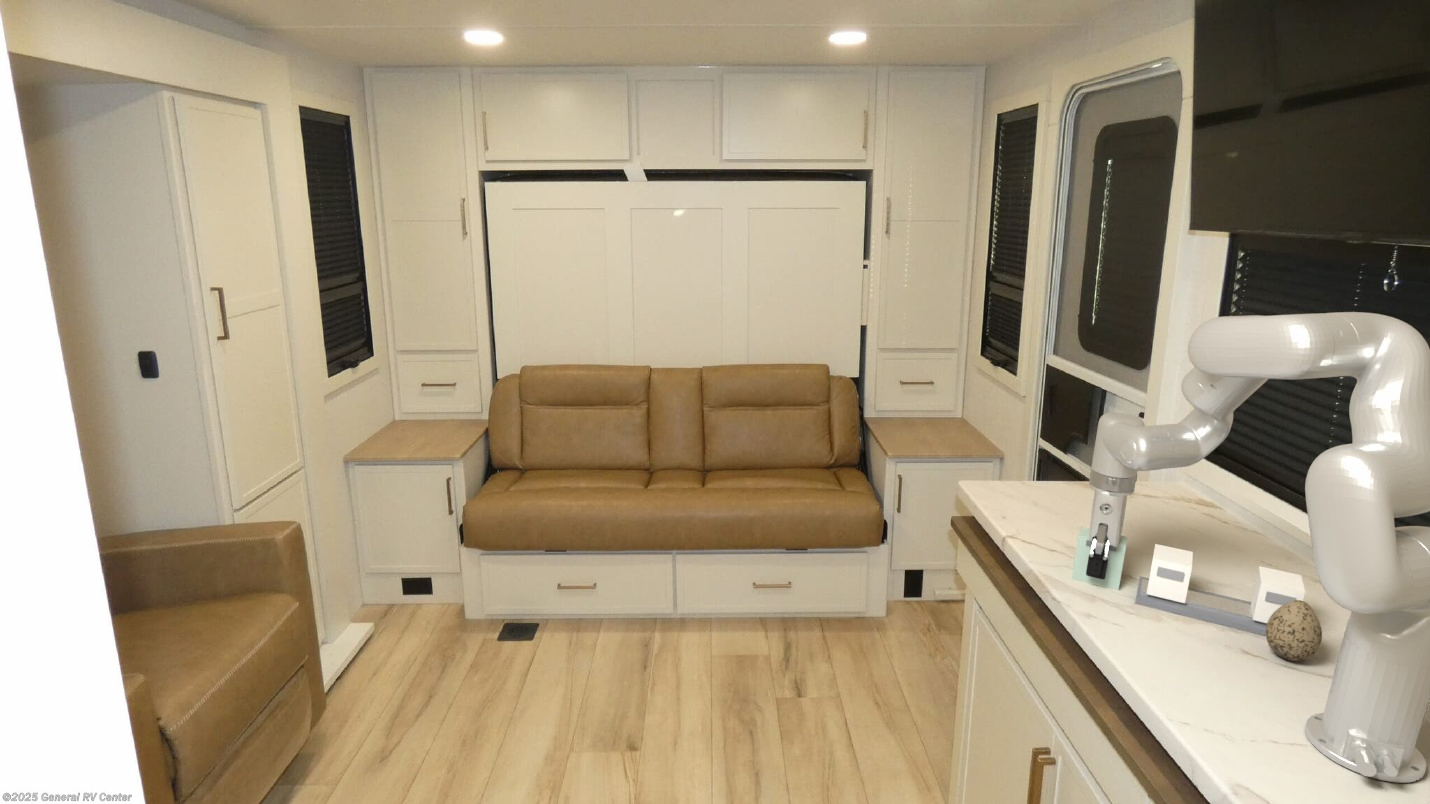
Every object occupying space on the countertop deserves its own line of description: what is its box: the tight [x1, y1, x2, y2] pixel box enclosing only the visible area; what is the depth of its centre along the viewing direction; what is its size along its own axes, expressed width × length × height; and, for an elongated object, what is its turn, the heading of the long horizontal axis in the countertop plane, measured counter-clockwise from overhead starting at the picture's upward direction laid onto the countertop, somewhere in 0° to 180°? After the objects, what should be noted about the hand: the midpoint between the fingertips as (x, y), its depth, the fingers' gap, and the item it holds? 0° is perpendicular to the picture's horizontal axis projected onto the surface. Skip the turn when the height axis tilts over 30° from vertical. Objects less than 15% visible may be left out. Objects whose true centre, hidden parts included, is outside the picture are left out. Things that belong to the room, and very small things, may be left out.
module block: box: [1071, 526, 1129, 591], centre depth 150 cm, size 5×8×9 cm, turn 59°
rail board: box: [1134, 543, 1306, 637], centre depth 140 cm, size 10×25×9 cm, turn 59°
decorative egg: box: [1265, 600, 1323, 662], centre depth 126 cm, size 7×7×10 cm
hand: (1098, 567), depth 151 cm, fingers open, 8 cm apart
